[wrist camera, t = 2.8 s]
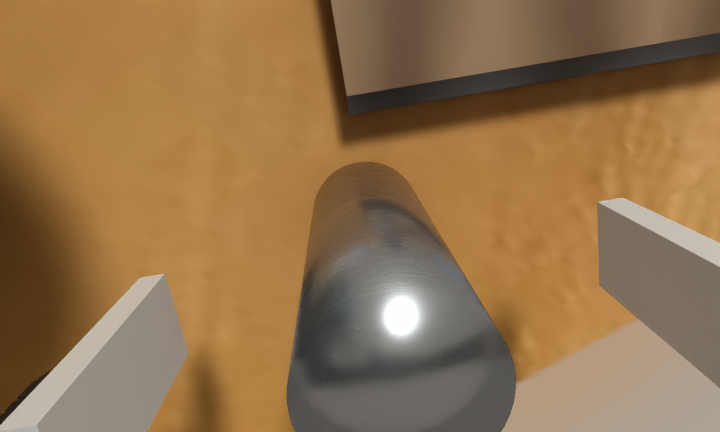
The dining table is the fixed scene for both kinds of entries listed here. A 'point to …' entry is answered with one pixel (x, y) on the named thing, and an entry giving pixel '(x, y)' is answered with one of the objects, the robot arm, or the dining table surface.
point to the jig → (505, 43)
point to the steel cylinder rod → (390, 320)
